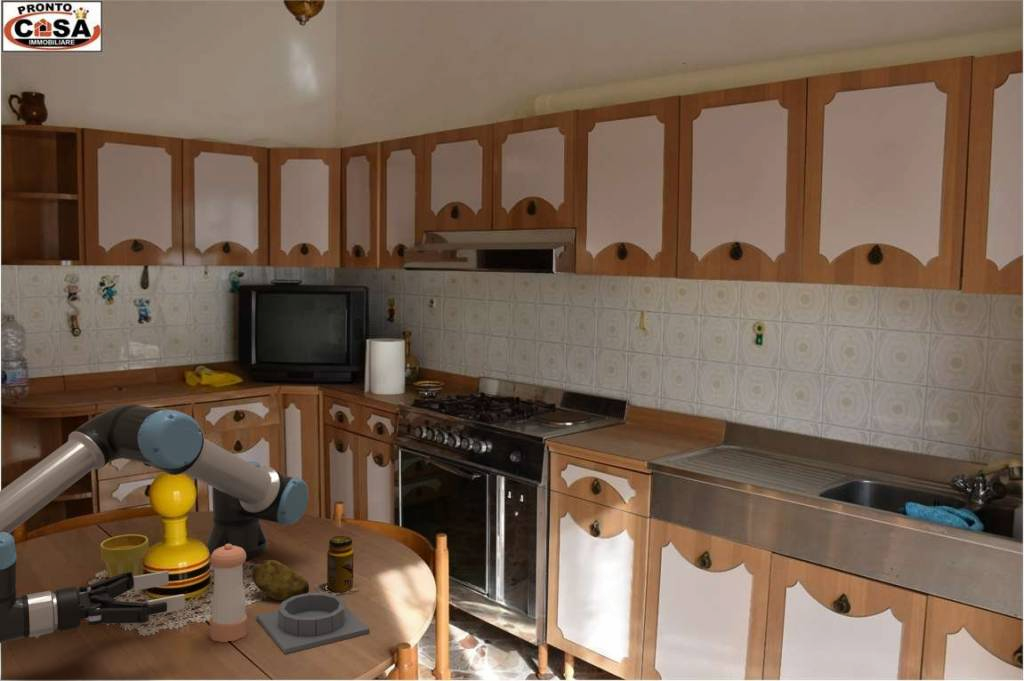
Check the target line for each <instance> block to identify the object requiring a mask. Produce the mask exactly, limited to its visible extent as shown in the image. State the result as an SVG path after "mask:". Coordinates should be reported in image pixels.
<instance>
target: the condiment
mask: <svg viewBox="0 0 1024 681" xmlns="http://www.w3.org/2000/svg"><path fill="white" fill-rule="evenodd" d="M328 543H329V545H328V549H327V556H326V559H327V563H326V565H327V566H326V567H327V568H326V569H327V570H326V571H327V572H326V573H327V574H326V576H327V578H326V583H321V584H315V585H313V586H314V588H315V589H316V590H317V591H318V593H322V592H323V593H324V592H326V591H328V590H329V591H331V592H334V593H345V592H347V591H350V590H351V589H352V588H353V585H354V555H355V554H354V549H353V539H352V538H351V537H350V536H347V535H337V536H333V537H331V538H330V539H329V542H328ZM326 585H327V586H328V587H327V589H328V590H326V589H325V586H326ZM323 587H324V588H323ZM345 594H349V593H348V592H347V593H345ZM332 595H336V594H332ZM338 595H340V594H337V595H336V596H338Z"/></svg>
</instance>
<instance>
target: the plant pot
mask: <svg viewBox="0 0 1024 681" xmlns="http://www.w3.org/2000/svg"><path fill="white" fill-rule="evenodd" d="M99 545H100V546H99V548H100V558H101V560H102V561H103V562H104V564H105V568H106V571H107V575H108V579H109V578H112V577H115V576H117V575H120V574H123V573H126V574H127V572H132V578H133V576H139V575H143V571H144V568H143V558H144V556H145V554H146V552H147V551H148V550H150V548H149V547H150V542H149V538H148V537H147V535H142V534H135V533H134V534H133V533H131V534H123V535H116V536H112V537H109V538H107V539H105V540H103V541H102V542H101V543H100V544H99ZM120 580H121V579H120Z"/></svg>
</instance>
